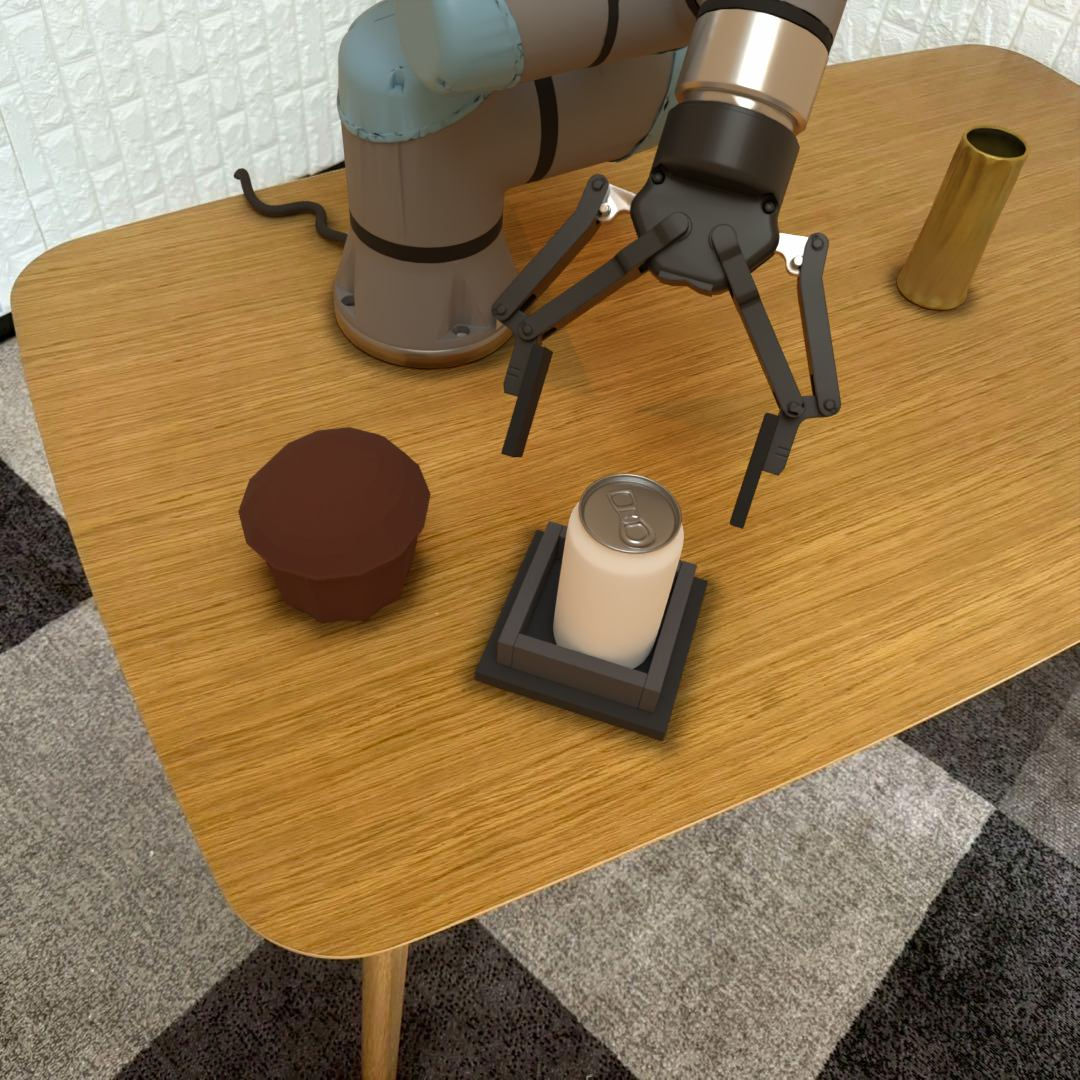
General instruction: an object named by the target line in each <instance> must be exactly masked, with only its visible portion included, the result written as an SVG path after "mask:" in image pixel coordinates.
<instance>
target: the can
mask: <svg viewBox="0 0 1080 1080" xmlns="http://www.w3.org/2000/svg"><path fill="white" fill-rule="evenodd" d="M682 513H683V512H682V508H681V507H680V504H679V501H678V500H677V498H676V497H675V495H674V494H673V493H672V492H671V491H670V490H669V489H668V488H667V487H666V486H664V485H663V484H661V483H660V482H658V481H656V480H654V479H652V478H651V477H648V476H644V475H639V474H635V473H625V472H624V473H623V472H622V473H613V474H609V475H605V476H603V477H600V478H598V479H596V480H595V481H593V482H592V483H590V484H589V485H588V486H587V487H586V488H585V489H584V491H583V492H582V494H581V496H580V498H579V501H578V502H577V503H576V504H575V505H574V507H573V509H572V511H571V513H570V515H569V516H570V517H569V519H568V523H567V526H568V528H567V534H566V540H565V546H564V553H563V559H562V566H561V573H560V579H559V586H558V593H557V600H556V607H555V614H554V623H553V633H554V638H555V641H556V644H557V645H558V646H561V647H564V648H567V649H570V650H574V651H577V652H580V653H583V654H586V655H590V656H593V657H596V658H599V659H602V660H605V661H609V662H612V663H615V664H618V665H621V666H624V667H628V668H631V669H634V668H636V667H638V666H639V665H640V664H642V663H643V662H644V661H645V660H646V659H647V657H648V656H649V654H650V653H651V651H652V649H653V646H654V643H655V640H656V637H657V634H658V630H659V627H660V624H661V620H662V617H663V614H664V610H665V607H666V604H667V600H668V597H669V593H670V590H671V587H672V583H673V580H674V576H675V573H676V569H677V566H678V562H679V560H681V555H682V551H683V546H684V540H685V534H684V533H685V532H684V527H683V523H682V522H683V515H682Z"/></svg>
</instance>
